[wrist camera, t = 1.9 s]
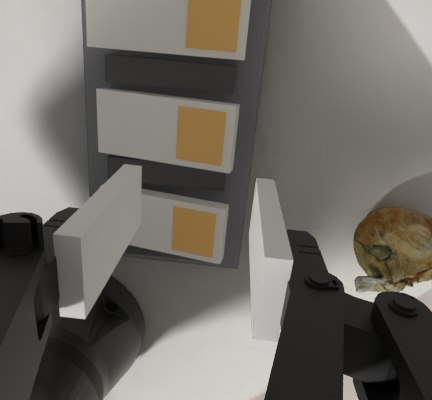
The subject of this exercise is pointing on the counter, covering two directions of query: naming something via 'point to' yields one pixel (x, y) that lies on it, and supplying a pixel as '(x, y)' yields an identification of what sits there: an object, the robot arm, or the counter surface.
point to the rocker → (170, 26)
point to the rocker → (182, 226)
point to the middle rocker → (167, 128)
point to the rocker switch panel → (189, 88)
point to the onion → (393, 249)
